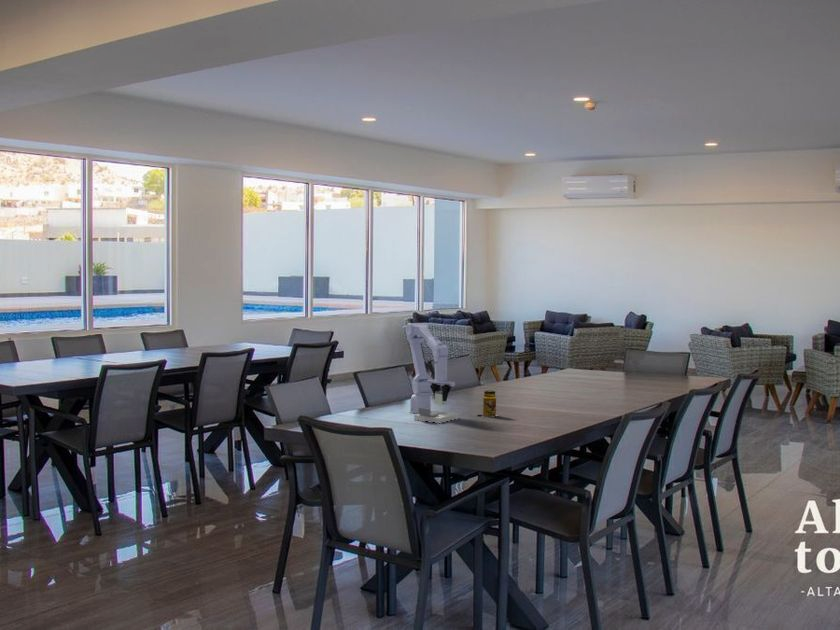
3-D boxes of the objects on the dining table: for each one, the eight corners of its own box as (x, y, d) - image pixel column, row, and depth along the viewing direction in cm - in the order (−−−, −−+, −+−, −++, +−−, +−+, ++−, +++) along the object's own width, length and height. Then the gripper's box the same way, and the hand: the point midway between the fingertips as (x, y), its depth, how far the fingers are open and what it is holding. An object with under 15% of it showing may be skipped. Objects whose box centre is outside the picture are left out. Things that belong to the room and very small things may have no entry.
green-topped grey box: (434, 404, 391) (434, 391, 391) (439, 403, 394) (439, 390, 394) (441, 405, 389) (441, 392, 388) (446, 404, 392) (446, 391, 392)
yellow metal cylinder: (492, 417, 396) (493, 392, 395) (476, 416, 400) (476, 391, 399) (499, 415, 402) (499, 390, 402) (483, 414, 406) (483, 389, 406)
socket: (414, 420, 387) (414, 414, 387) (434, 415, 400) (434, 410, 400) (439, 423, 379) (439, 418, 379) (458, 418, 392) (458, 413, 392)
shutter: (418, 415, 383) (418, 407, 383) (427, 413, 389) (427, 405, 389) (429, 417, 379) (429, 409, 379) (438, 415, 385) (439, 407, 385)
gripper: (423, 370, 392) (422, 399, 392) (449, 373, 383) (448, 402, 384) (432, 369, 397) (431, 398, 398) (457, 371, 389) (457, 401, 390)
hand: (440, 400), depth 391 cm, fingers closed on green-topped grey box, 4 cm apart
